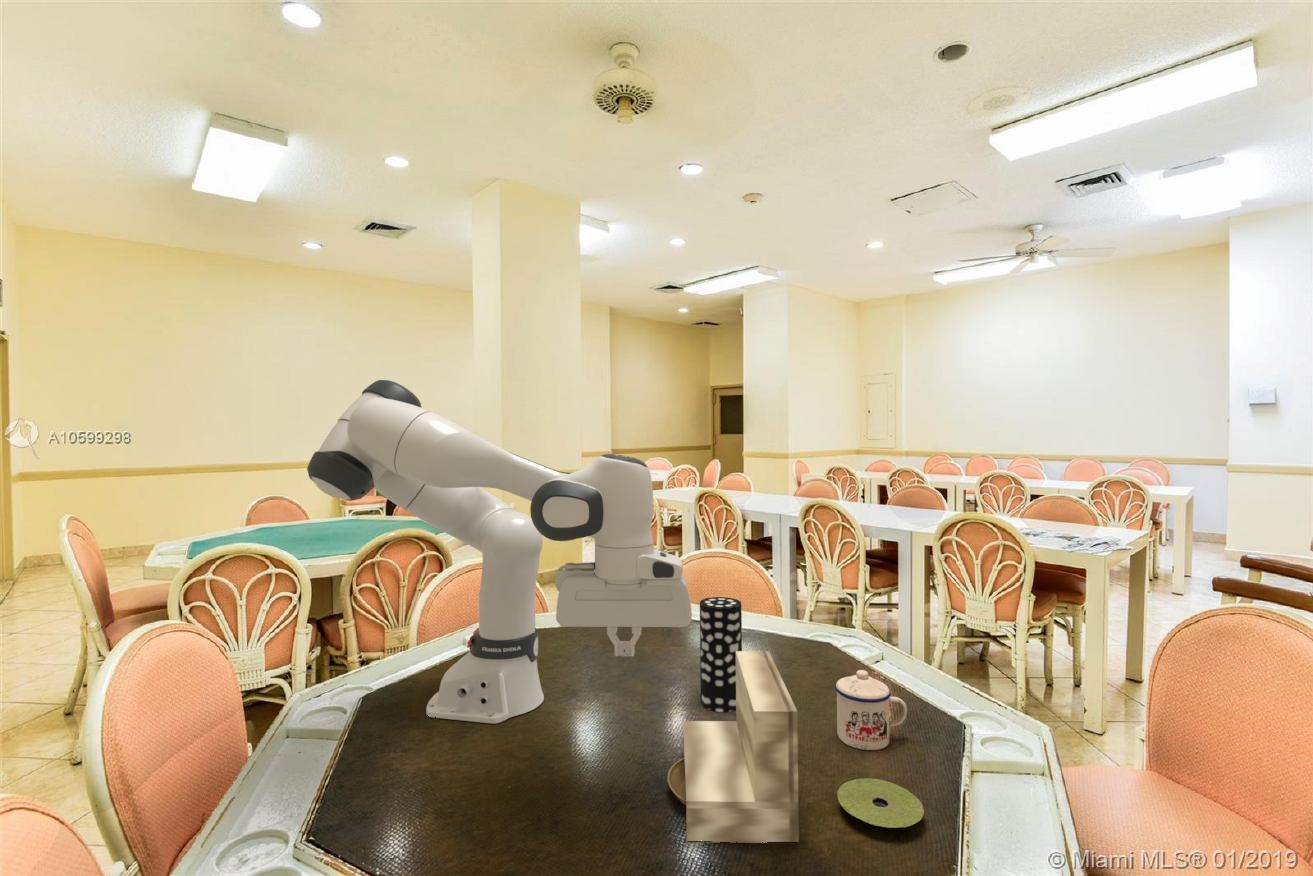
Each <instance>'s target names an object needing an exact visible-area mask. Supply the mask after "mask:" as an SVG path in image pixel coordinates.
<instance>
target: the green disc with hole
mask: <svg viewBox="0 0 1313 876" xmlns="http://www.w3.org/2000/svg"><path fill="white" fill-rule="evenodd" d="M836 795H837V800H838V803H839V804H840V805H841V807H842V808H843V809H844V810H845V811H846V812H847V813H848V814H850V815H851V816H852V817H855V818H856V819H859V820H861V821H863V822H864V823H868V824H870V825H873V826H876V827H877V826H878V827H882V828H895V829H896V828H908V827H910V826H913V825H914V824H916V823H918V822H919V821H921V820H922V819H923V816H924V815H925V810H924V805H923V803H922V802H921V800H920V799H919V798H918V797H917V796H916V795H914V794H913V792H911V791H909V790H908V789H906V788H904V787H902V786H900V785H899V784H896V783H893V782H891V781H887V780H883V779H879V778H870V777H869V778H868V777H867V778H862V777H859V778H855V779H852V780H848V781H845V782H844V783H843V784H841V785H840V786H839V787H838V790H837V792H836Z"/></svg>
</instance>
